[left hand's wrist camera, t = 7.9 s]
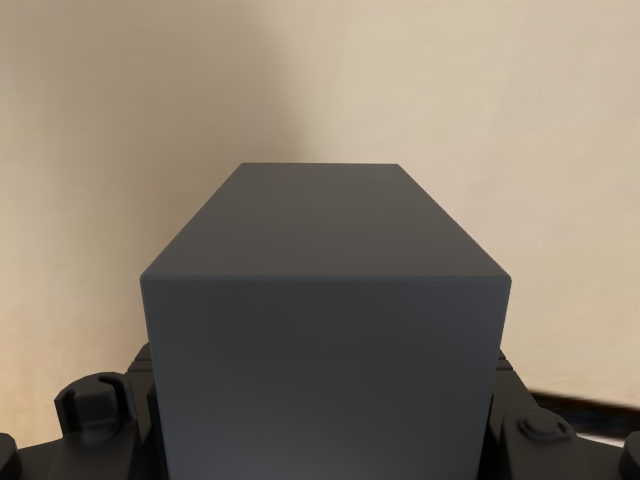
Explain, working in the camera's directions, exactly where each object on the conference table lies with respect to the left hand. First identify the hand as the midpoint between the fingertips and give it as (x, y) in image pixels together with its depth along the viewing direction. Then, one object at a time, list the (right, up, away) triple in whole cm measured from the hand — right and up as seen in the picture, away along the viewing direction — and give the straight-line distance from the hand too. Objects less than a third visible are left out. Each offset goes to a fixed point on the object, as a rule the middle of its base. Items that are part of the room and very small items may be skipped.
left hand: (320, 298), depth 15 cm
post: (0, -19, +8) cm, 21 cm away
